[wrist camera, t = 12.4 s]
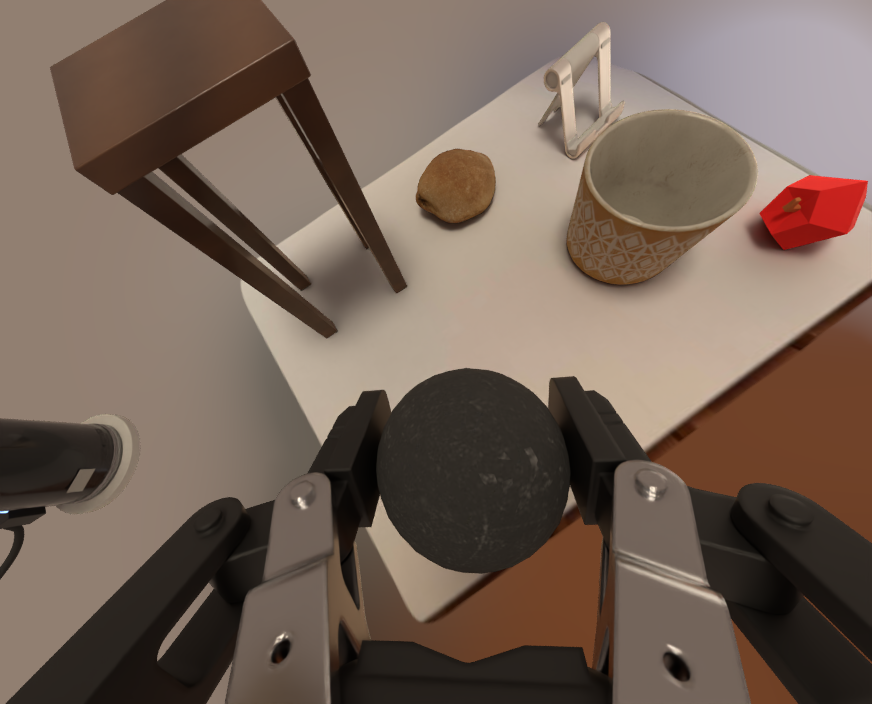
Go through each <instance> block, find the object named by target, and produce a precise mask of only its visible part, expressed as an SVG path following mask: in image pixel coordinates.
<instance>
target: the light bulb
mask: <svg viewBox="0 0 872 704" xmlns="http://www.w3.org/2000/svg"><path fill="white" fill-rule="evenodd" d="M376 473H377V484H378V488H379V492H380V495H381V499H382V502H383V504H384V507H385V510H386V512H387V515H388V518H389V519H390V521H391V522H392V523H393V525H394V526H395V528H396V529H397V531H398V532H399V534H400V535H401V536H402V537H403V538H404V539H405V540H406V541H407V542H408V543H409V545H410V546H411V547H412V548H413V549H414V550H415V551H416V552H418V553H419V554H421V555H422V556H424V557H425V558H427V559H428V560H430V561H432V562H434V563H436V564H437V565H439V566H441V567H443V568H445V569H450V570H454V571H458V572H463V573H481V574H482V573H488V572H496V571H499V570H502V569H506V568H509V567H513V566H514V565H516V564H518V563H520V562H522V561H523V560H525V559H527V558H529V557H530V556H531V555H533V554H534V553H535V552H536V551H537V550H538V549H539V548H540V547H542V546H543V545H544V544H545V543H546V542H547V540H548V539H549V537H550V536H551V535H552V533H553V532H554V530H555V529H556V527H557V526H558V525H559V523H560V520H561V518H562V515H563V512H564V509H565V507H566V503H567V500H568V492H569V487H570V473H571V472H570V464H569V457H568V452H567V448H566V444H565V441H564V437H563V434H562V432H561V429H560V427H559V425H558V423H557V422H556V420H555V419H554V417H553V415H552V414H551V412H550V411H549V409H548V408H547V406H546V405H545V404H544V403H543V402H542V401H541V400H540V399H539V398H538V397H537V396H536V395H535V394H534V393H533V392H532V391H530V390H529V389H528V388H526V387H525V386H523V385H522V384H520V383H519V382H517V381H515V380H513V379H511V378H509V377H507V376H505V375H503V374H500V373H497V372H493V371H489V370H481V369H470V368H464V369H458V370H452V371H447V372H444V373H441V374H438V375H434V376H432V377H431V378H429V379H427V380H425V381H423V382H421V383H419V384H418V385H417V386H415V387H414V388H413V389H412V390H411V391H409V392H408V393H407V394H406V395H405V396H404V397H403V398H402V400H401V401H400V402H399V403H398V405H397V406H396V407H395V408H394V409H393V411H392V413H391V415H390V416H389V418H388V420H387V422H386V424H385V426H384V428H383V432H382V436H381V440H380V443H379V446H378V453H377V464H376Z"/></svg>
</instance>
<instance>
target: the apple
mask: <svg viewBox="0 0 872 704" xmlns="http://www.w3.org/2000/svg"><path fill="white" fill-rule="evenodd" d="M867 184H868V181H863V180H853V179H842V178H832V177H822V176H811V175H809V176H807V177H805V178H803V179H801V180H799V181H797V182H795V183H793V184H791V185H789V186H787V187H786V188H785V189H784V190H783V191H782V192H781V193H780V194H779V195H778V196H777V197H776V198H775V199H774V200H773V201H772V202H771V203H769V204H768V205H767V206H766V207H765V208H764V209H763V210H762V211H761V212H760V215H761V217H762V219H763V221H764V222H765V224H766V226H767V228H768V230H769V232H770V233H771V235H772V236H773V237H774V239H775V240H776V241H777V242H778V244H779V245H780V246H781V247H782V249H783V250H786V249H790V248H794V247H798V246H802V245H806V244H810V243H814V242H817V241H821V240H825V239H829V238H833V237H837V236H841V235H844V234H847V233H848V232H849V231H850V230H851V229H853V228H854V226H855V223H856V221H857V218H858V215H859V213H860V210H861V208H862V205H863V203H864V200H865V198H866V192H867Z"/></svg>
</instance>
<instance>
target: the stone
mask: <svg viewBox="0 0 872 704" xmlns="http://www.w3.org/2000/svg"><path fill="white" fill-rule="evenodd" d="M495 182H496V180H495V171H494V168H493V165H492V163H491V161H490V159H489V158H488V157H487V156H486V155H484V154H482V153H478V152H474V151H471V150H462V149H453V150H449V151H446V152H443V153H441V154H439V155H438V156H436V157H435V158H434V159H433V160H432V161H431V163H430V164H429V165H428V166H427V168H426V170H425V171H424V173H423V174H422V176H421V178H420V180H419V183H418V191H417V194H416V202H417V204H418V205H419V206H420V207H421V208H422V209H424V210H426V211H428V212H431V213H432V214H434V215H436V216H437V217H438V218H440V219H441V220H443V221H446V222H449V223H458V222H462V221H465V220H468V219H470V218H472V217H474V216H476V215H478V214H481V213H482V212H483V211H484V210H485V209H486V208H487V207H488V206H489V204H490V202H491V200H492V197H493V194H494V191H495Z"/></svg>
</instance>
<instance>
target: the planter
mask: <svg viewBox="0 0 872 704" xmlns="http://www.w3.org/2000/svg"><path fill="white" fill-rule="evenodd" d="M757 176H758V169H757V163H756V159H755V156H754V154H753V152H752V150H751V148H750V146H749V145H748V144H747V142H746V141H745V140H744V139H743V138H742V137H741V136H740V135H739V134H738V133H737V132H736V131H735V130H733V129H732V128H730V127H729V126H727V125H726V124H724V123H722V122H720V121H718V120H716V119H714V118H712V117H709V116H706V115H703V114H699V113H695V112H690V111H684V110H670V109H667V110H653V111H646V112H642V113H638V114H634V115H631V116H628V117H626V118H624V119H621V120H619V121H617V122H616V123H614V124H612V125H611V126H609V127H608V128H606V129H605V130H604V131H603V132H602V133H601V134H600V135H599V136H598V137H597V138H596V139H595V140H594V142H593V143H592V145H591V146H590V148H589V150H588V152H587V155H586V159H585V163H584V167H583V171H582V175H581V179H580V183H579V187H578V192H577V196H576V200H575V204H574V208H573V212H572V216H571V220H570V224H569V229H568V233H567V246H568V250H569V253H570V255H571V257H572V259H573V261H574V262H575V264H576V265H577V266H578V267H579V268H580V269H581V270H582V271H583V272H585V273H586V274H588V275H589V276H591V277H593V278H595V279H597V280H600V281H603V282H606V283H611V284H633V283H638V282H642V281H645V280H647V279H650V278H652V277H654V276H655V275H657V274H659V273H660V272H661V271H663V270H664V269H665V268H666V267H668V266H669V265H670V264H671V263H673V262H674V261H675V260H677V259H678V258H679V257H680V256H682V255H683V254H684V253H685V252H687V251H688V250H689V249H691V248H692V247H693V246H694V245H696V244H697V243H698V242H699V241H701V240H702V239H703V238H705V237H706V236H707V235H708V234H710V233H711V232H712V231H713V230H715V229H716V228H717V227H719V226H720V225H721V224H722V223H724V222H725V221H726V220H727V219H729V218H730V217H731V216H733V215H734V214H735V213H736V212H738V211H739V210H740V209H741V208H742V207H743V206H744V205H745V204H746V203H747V201H748V200H749V199H750V197H751V195H752V194H753V191H754V189H755V186H756V183H757Z"/></svg>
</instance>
